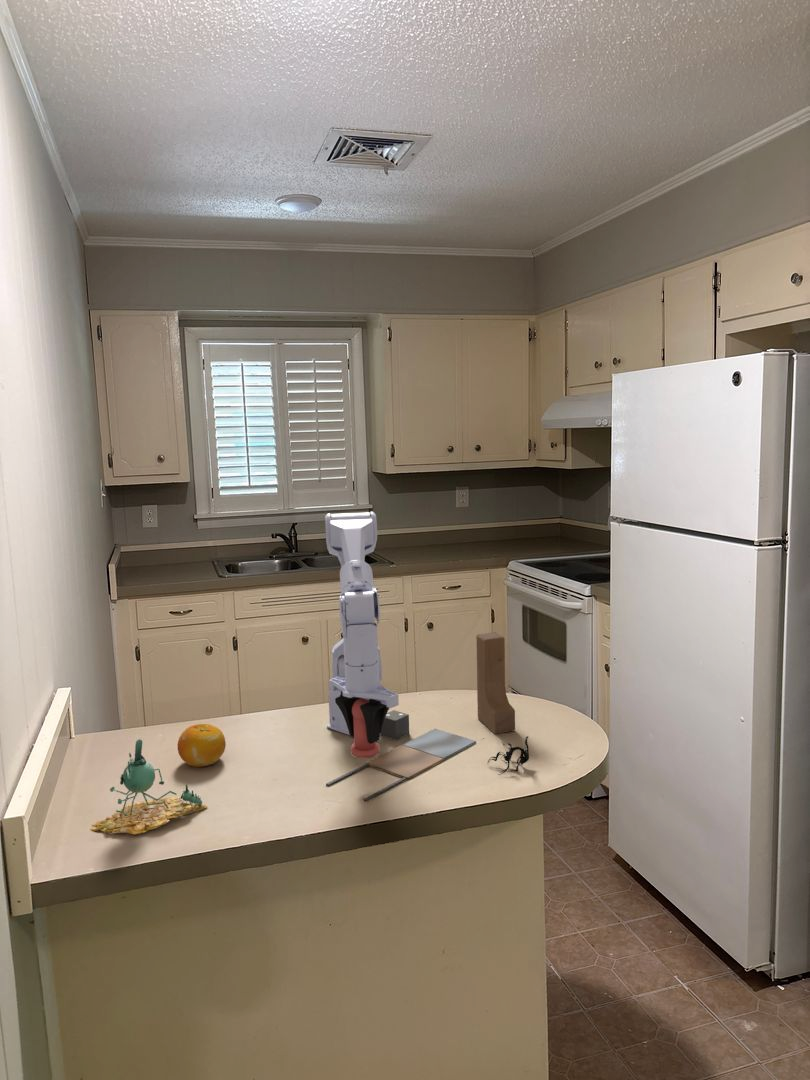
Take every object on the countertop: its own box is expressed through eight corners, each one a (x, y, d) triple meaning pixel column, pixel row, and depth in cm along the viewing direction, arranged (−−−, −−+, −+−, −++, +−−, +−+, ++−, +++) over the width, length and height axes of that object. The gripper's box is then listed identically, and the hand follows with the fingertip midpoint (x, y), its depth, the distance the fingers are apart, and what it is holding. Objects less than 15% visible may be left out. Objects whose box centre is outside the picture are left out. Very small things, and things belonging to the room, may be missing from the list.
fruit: (210, 758, 140) (204, 714, 143) (170, 772, 142) (165, 728, 145) (236, 761, 147) (231, 719, 150) (198, 774, 149) (193, 732, 153)
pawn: (345, 753, 135) (343, 699, 134) (364, 743, 139) (362, 691, 137) (365, 760, 132) (363, 705, 131) (385, 750, 136) (383, 697, 134)
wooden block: (515, 731, 156) (515, 643, 153) (494, 734, 155) (493, 645, 152) (497, 715, 165) (496, 631, 162) (477, 718, 163) (475, 634, 161)
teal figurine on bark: (207, 830, 122) (189, 741, 120) (86, 856, 120) (65, 766, 117) (210, 800, 132) (193, 717, 129) (98, 824, 129) (79, 740, 126)
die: (380, 735, 156) (380, 715, 156) (394, 729, 159) (393, 709, 159) (395, 740, 154) (395, 720, 153) (409, 733, 157) (408, 714, 156)
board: (325, 784, 136) (325, 782, 136) (435, 730, 158) (435, 728, 158) (367, 802, 129) (367, 799, 129) (475, 742, 151) (475, 740, 151)
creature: (488, 782, 138) (533, 774, 136) (480, 753, 137) (526, 745, 135) (491, 762, 145) (534, 755, 144) (484, 735, 145) (527, 727, 143)
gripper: (314, 659, 135) (318, 735, 137) (376, 676, 125) (379, 757, 127) (344, 649, 140) (347, 723, 142) (406, 664, 130) (408, 742, 133)
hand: (364, 738), depth 135 cm, fingers closed on pawn, 4 cm apart
